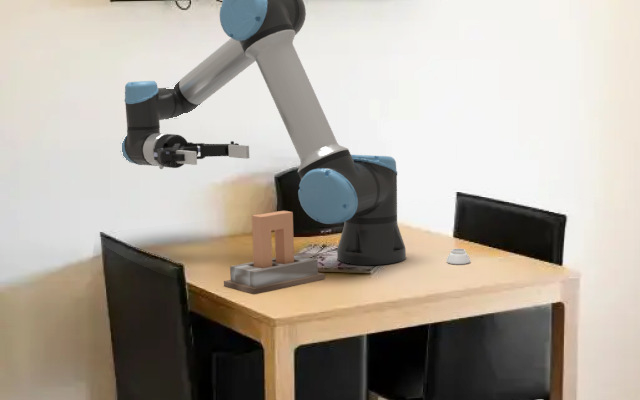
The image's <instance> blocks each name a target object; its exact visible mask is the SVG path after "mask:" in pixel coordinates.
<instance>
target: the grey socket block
mask: <svg viewBox="0 0 640 400" xmlns="http://www.w3.org/2000/svg"><path fill="white" fill-rule="evenodd" d="M229 267H230V268H229V269H230V279H229V280H223V287H226V288H230V289H234V290H237V291H240V292H241V291H242V292H246V293H250V294H252V295H257V294H260V293H265V292H270V291H275V290H279V289H280V290H281V289H285V288H289V287H294V286H298V285H304V284H308V283H311V282H317V281H322V280H326V276H325V275H326V273H322V272H318V271H319V270H318V267H319V266H318V259H316V258H310V257H305V256H302V255H297V254H294V262H293V263H288V264H281V263H276V257H272V267H268V268H263V269H261V268H257V267H254V262H253V261H251V262H247V263H246V262H245V263H241V264H234V265H231V266H229Z"/></svg>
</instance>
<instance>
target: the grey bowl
mask: <svg viewBox="0 0 640 400" xmlns="http://www.w3.org/2000/svg"><path fill="white" fill-rule="evenodd" d="M446 262H447V263H448V264H450V265H456V266H457V265H467V264H470V263H471V258H470V257H469V255H468V253H467V252H466V249H464V248H452V249H451V250H450V253H448V256H447V257H446Z"/></svg>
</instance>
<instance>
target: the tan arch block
mask: <svg viewBox="0 0 640 400" xmlns="http://www.w3.org/2000/svg"><path fill="white" fill-rule="evenodd" d="M251 225H252V228H251V230H252V232H251V233H252V255H253V256H252V257H253V261H252V262H254V267H257V268H261V269H263V268H268V267H272V258H273V247H272V246H273V244H272V231H274V250H275V252H274V253H275V258H276V263H281V264H288V263H293V262H294V255H295V247H294V246H295V244H294V243H295V242H294V240H295V239H294V213H293V211H288V210H280V211H273V212H267V213H266V212H265V213H261V214H253V215H251Z"/></svg>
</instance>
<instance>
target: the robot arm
mask: <svg viewBox="0 0 640 400" xmlns="http://www.w3.org/2000/svg"><path fill="white" fill-rule="evenodd" d="M221 2H222V3H221V6H220V7H219V8H220V9H219V22H220V25H221V28H222V30H223V32H224V33H225V35H227V36H228V37H229V40H227V41H226V42H224V43H223V44H222V45H221V46H220V47H218V48H216V50H215V51H213V52H212V53H211V54H209V56H207V57H206V58H205V59H204V60H202V61H201V62H200V63H199V64H198V65H197V66H195V67H194V68H193V69H191V70H190V71H189V72H188V73H186V74H185V75H184V76H183V77H181V79H180V81H179V80H178V81H179V82H178V81H177V82H178V83H177V82H176V83H177V84H176V83H175V84H176V85H175V87H174V89H166V88H167V87H158V84H157V82H156V81H155V80H140V81H129V82H127V83H126V84H125V86H124V102H125V103H124V105H125V115H126V116H125V118H126V134H127V136H126V137H125V139H124V141H123V143H122V152H123V156H124V157H125V158H126V160H125V161H127V160H128V161H129V162H128V161H127V162H128V163H131V164H135V165H138V166H152V167H153V166H154V167H158V168H159V169H160V170H162V169H164V168H172V169H177V168H178V169H179V168H181V167H182V166H185V165H191V166H195V165H198V160H203V159H205V158H206V157H212V158H213V157H229V158H235V159H250V146H249V145H242V144H241V145H240V144H239V143H238V142H237V143H235V142H234V141H232V140H231V141H230V143H203V142H197V143H194V142H191V141H190V142H188V141H187V140H186V138H185V137H184V136H183V135H180V134H175V133H174V134H173V133H169V134H168V133H160V132H161V131H160V129H161V126H160V125H161V124H160V121H163V120H164V119H165V120H170V119H169V118H173V117H177V116H179V115H181V114H183V113H188V112H190V111H192V110H193V109H195V108H196V107H197V106H198V105H200V104H201V103H202V104H203V102H205V101H206V100H208V98H210V97H211V96H212V95H214V94H215V93H216V92H217V91H219V90H220V89H222V87H224V86H225V85H226V84H227V85H228V83H229V82H230V81H232V80H233V79H234V78H236V77H237V76H238V75H239V74H241V73H242V72H244V70H246V69H247V68H248V67H250V66H251V65H252V64H254V63H255V62H256V64H257V66H258V68H259V72H260V73H261V75H262V77H263V79H264V82H265V84H266V87H267V89H268V92H269V93H270V95H271V97H272V100H273V102H274V104H275V106H276V109H277V111H278V113H279V116H280V119H282V120H281V121H282V122H283V124H284V127H285V129H286V131H287V133H288V135H289V138H290V141H291V143H292V145H293V147H294V149H295V151H296V154H297V156H298V158H299V160H300V164H299V166H298V170H297V174H298V176H299V178H300V181H299V184H298V187H299V189H298V192H297V194H298V200H299V202H300V206H301V208H302V210H303V211H304V212H305V213H306V215H308V217H310V218H311V219H313V220H314V221H316V222H319V223H320V224H321V223H322V224H326V225H329V224H330V225H333V224H341V223H343V224H344V225H343V227H342V228H343V229H342V232H341V236H340V238H339V242H338V245H337V249H336V250H337V251H336V254H337V256H336V257H337V260H338V261H339V260H340V261H339V262H341V261H342V262H341V263H344V262H345V263H344V264H349V263H350V265H359V266H360V265H361V266H378V265H379V266H380V265H389V264H396V263H399V262H403V261H404V260H406V258H407V257H406V254H407V252H406V245H405V243H404V239H403V236H402V234H401V231H400V227H399V226H398V178H397V177H398V171H397V162H396V160H395V158H394V157H393V156H387V155H367V154H351V152H350V150H349V148H347V147H346V146H342V145H340V144H339V143H338V142H337V141H338V140H337V139H336V136H335V135H334V133H333V132H334V131H333V130H332V128H331V125H330V123H329V121H328V119H327V116H326V114H325V112H324V110H323V108H322V105H321V104H320V102H319V99H318V97H317V94H316V92H315V90H314V89H313V86H312V84H311V81H310V79H309V77H308V75H307V73H306V70H305V69H304V66H303V63H302V61H301V59H300V57H299V55H298V53H297V50H296V48H295V46H294V43H293V42H294V40H295V36H296V35H298V34H299V32H300V31H301V30H302V28H303V26H304V24H305V20H306V14H307V13H306V10H307V9H306V6H305V2H304V0H222V1H221ZM199 155H200V156H199ZM123 156H122V157H123ZM124 157H123V158H124Z"/></svg>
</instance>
